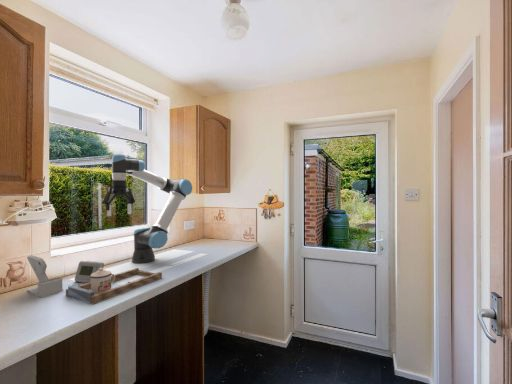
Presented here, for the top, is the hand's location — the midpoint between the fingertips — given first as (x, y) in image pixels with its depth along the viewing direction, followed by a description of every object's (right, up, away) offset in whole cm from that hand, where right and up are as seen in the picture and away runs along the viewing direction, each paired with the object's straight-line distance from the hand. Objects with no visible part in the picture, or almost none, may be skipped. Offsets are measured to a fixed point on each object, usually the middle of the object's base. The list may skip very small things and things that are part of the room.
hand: (119, 215), depth 164 cm
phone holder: (-22, -35, -30) cm, 51 cm away
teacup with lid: (+8, -35, -31) cm, 47 cm away
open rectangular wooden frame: (+11, -35, -24) cm, 44 cm away
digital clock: (-8, -35, -17) cm, 40 cm away
